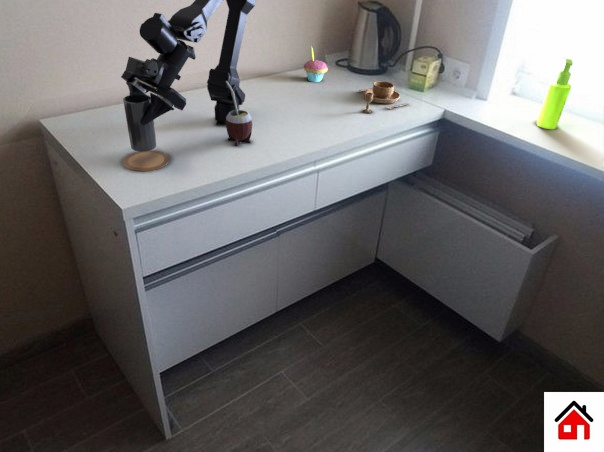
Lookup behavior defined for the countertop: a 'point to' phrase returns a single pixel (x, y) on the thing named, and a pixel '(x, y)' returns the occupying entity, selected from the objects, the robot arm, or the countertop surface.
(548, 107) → the soap dispenser
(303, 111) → the countertop surface
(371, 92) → the place setting
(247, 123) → the mate gourd
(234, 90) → the robot arm
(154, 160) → the trivet
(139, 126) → the grey metal tumbler
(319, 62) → the cupcake
